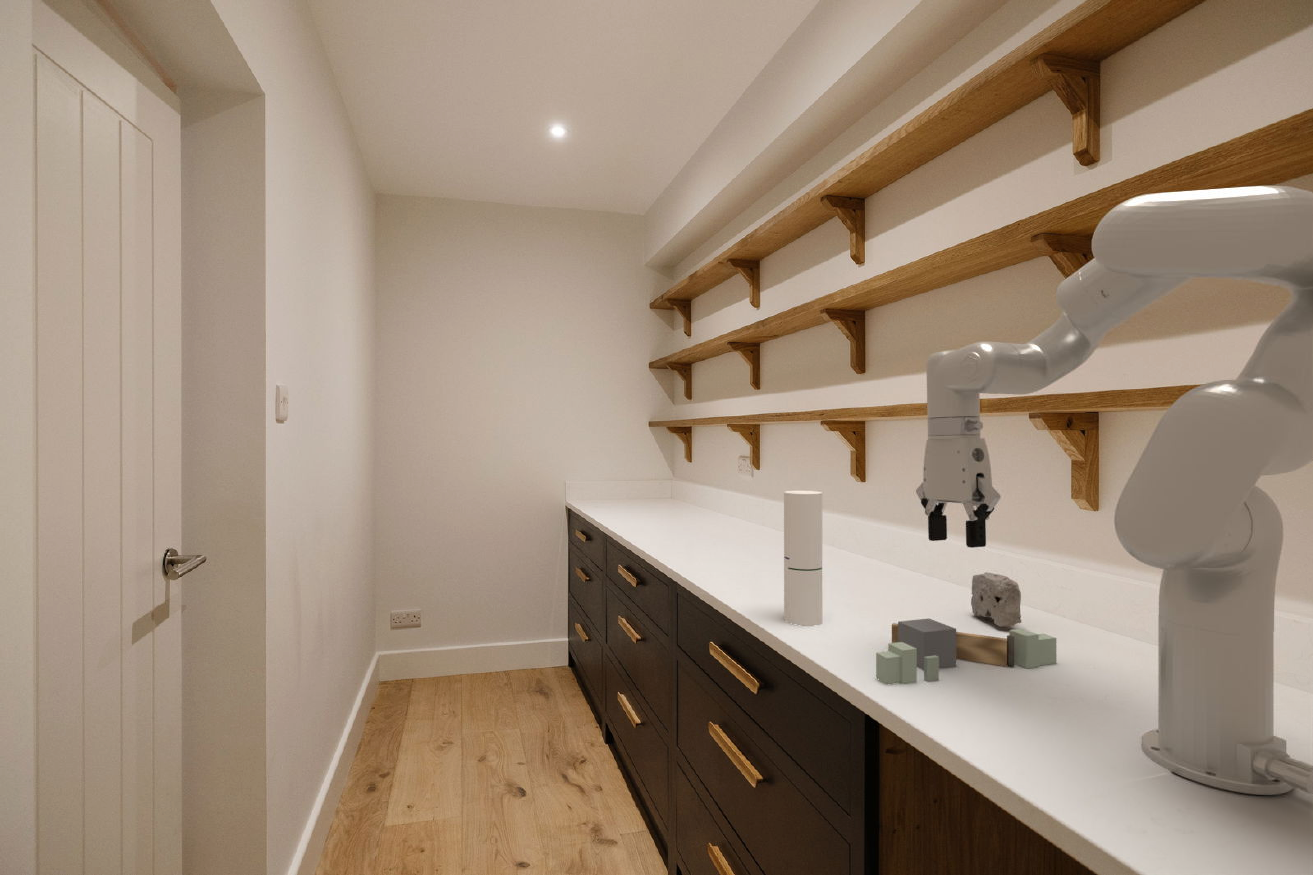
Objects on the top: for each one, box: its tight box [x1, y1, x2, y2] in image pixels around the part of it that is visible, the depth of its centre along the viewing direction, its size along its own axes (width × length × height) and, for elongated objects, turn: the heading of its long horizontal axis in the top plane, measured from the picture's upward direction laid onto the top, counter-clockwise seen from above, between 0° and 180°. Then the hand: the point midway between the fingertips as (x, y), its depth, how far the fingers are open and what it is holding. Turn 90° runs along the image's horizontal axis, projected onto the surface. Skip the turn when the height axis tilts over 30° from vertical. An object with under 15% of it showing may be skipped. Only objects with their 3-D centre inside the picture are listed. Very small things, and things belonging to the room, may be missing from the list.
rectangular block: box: [897, 618, 957, 671], centre depth 102 cm, size 6×6×6 cm
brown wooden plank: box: [891, 622, 1015, 668], centre depth 105 cm, size 18×3×5 cm, turn 60°
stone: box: [970, 572, 1022, 627], centre depth 123 cm, size 13×6×10 cm, turn 173°
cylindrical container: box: [783, 490, 823, 627], centre depth 123 cm, size 7×7×25 cm
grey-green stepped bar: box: [875, 628, 1057, 685], centre depth 98 cm, size 3×31×5 cm, turn 107°
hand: (956, 542), depth 101 cm, fingers open, 7 cm apart
